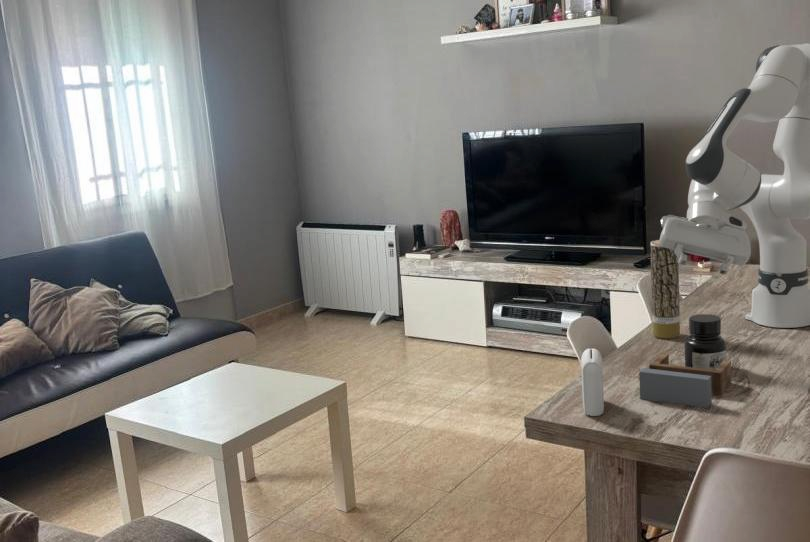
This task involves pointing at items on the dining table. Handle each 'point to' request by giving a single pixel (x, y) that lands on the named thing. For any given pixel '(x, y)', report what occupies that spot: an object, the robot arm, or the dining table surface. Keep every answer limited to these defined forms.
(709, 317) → the ink bottle
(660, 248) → the paper tube
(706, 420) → the dining table surface
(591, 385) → the photo printer
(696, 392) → the wall
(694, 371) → the cradle
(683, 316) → the dining table surface
